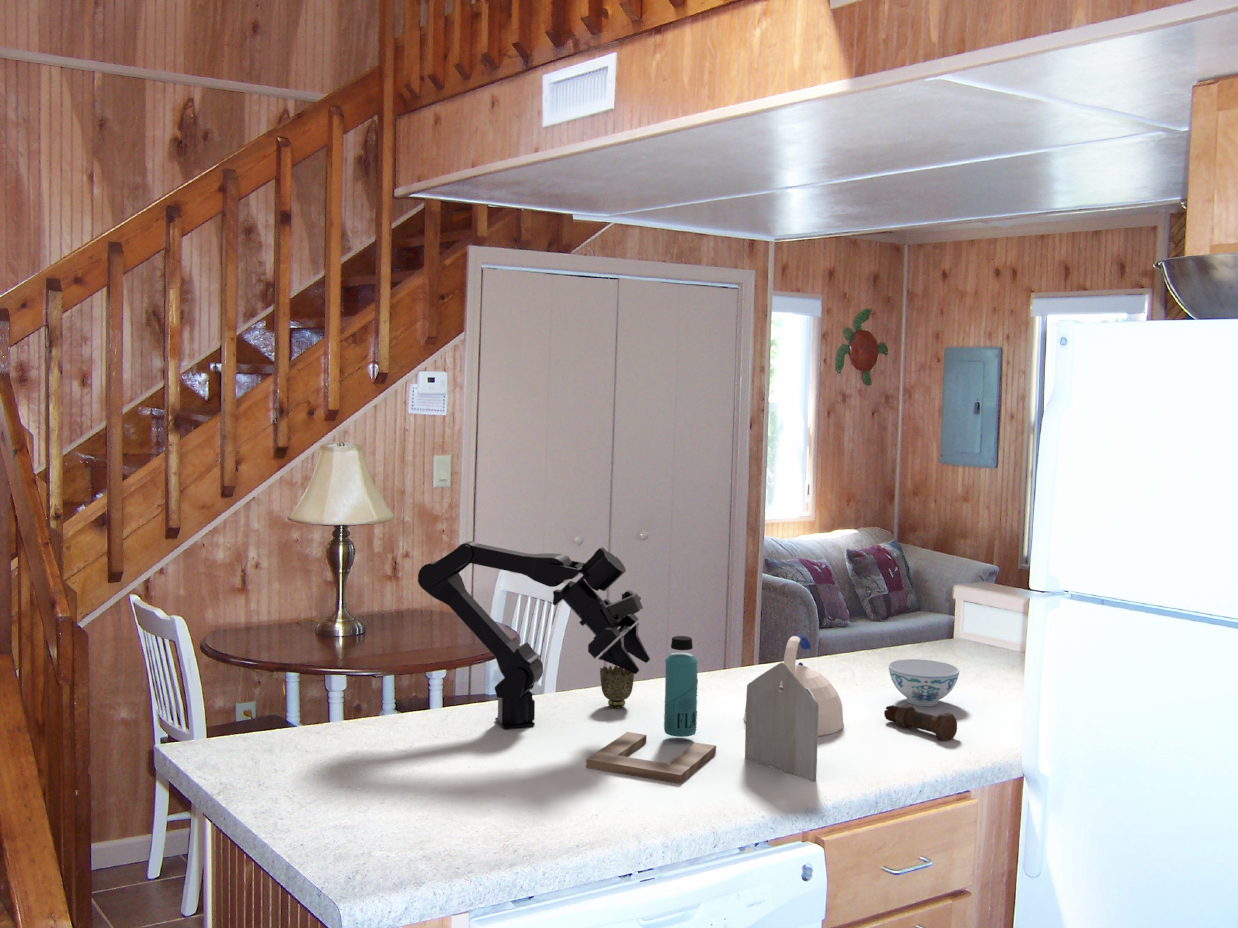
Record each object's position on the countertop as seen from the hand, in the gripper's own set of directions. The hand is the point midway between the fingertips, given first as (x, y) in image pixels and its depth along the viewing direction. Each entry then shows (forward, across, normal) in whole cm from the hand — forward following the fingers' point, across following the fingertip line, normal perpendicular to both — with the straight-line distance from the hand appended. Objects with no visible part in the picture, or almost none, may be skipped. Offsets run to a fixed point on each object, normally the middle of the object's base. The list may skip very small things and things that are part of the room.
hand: (643, 666), depth 220 cm
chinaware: (+48, +42, -28) cm, 69 cm away
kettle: (+29, +18, -10) cm, 36 cm away
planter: (+31, -8, -11) cm, 34 cm away
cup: (+3, +18, +17) cm, 25 cm away
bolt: (+47, +20, -27) cm, 58 cm away
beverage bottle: (+15, 0, +4) cm, 16 cm away
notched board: (+13, -14, +6) cm, 20 cm away
